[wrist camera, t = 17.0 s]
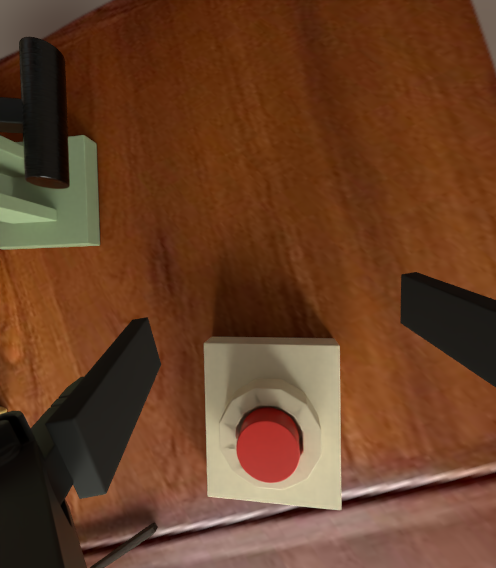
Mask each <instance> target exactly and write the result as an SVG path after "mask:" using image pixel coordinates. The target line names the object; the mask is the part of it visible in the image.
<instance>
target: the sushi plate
mask: <svg viewBox="0 0 496 568" xmlns="http://www.w3.org/2000/svg"><path fill="white" fill-rule="evenodd" d="M156 530H157V525H156V524H155V523H152V524H151V525H149V526H148V527H146V528H145V529H143V530H142V531H141V532H139V533H138V534H136V535H135V536H134V537H132V538H131V539H129V540H128V541H126V542H125V543H124V544H122V545H121V546H119V547H118V548H117V549H115V550H114V551H112V552H111V553H110V554H108V555H107V556H105V557H104V558H103V559H101V560H100V561H98V562H97V563H96V564H94V565H93V566H91V567H90V568H105V567H106V566H108V565H109V564H110V563H112V562H113V561H115V560H116V559H118V558H119V557H121V556H122V555H124V554H125V553H127V552H128V551H130V550H131V549H133V548H134V547H136V546H137V545H139V544H140V543H141V542H143V541H144V540H146V539H147V538H149V537H150V536H152V535H153V534H154V533H155V532H156Z"/></svg>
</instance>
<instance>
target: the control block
mask: <svg viewBox="0 0 496 568" xmlns="http://www.w3.org/2000/svg"><path fill="white" fill-rule="evenodd" d="M204 370H205V410H206V451H207V491H208V496H209V497H219V498H228V499H238V500H247V501H257V502H266V503H276V504H285V505H295V506H305V507H314V508H324V509H333V510H341V426H340V346H339V344H338V343H337V342H336V340H335V339H334V338H275V337H211V338H210V339H208V340H207V341H206V342H205V343H204ZM264 407H270V408H275V409H278V410H281V411H283V412H284V413H286V414H287V415H288V416H289V417H290V418H291V419H292V420H293V422H294V423H295V425H296V427H297V430H298V434H299V447H300V460H299V464H298V466H297V468H296V470H295V471H294V473H293V474H292V475H291V476H290V477H288V478H287V479H285V480H283V481H281V482H277V483H265V482H261V481H259V480H256V479H254V478H253V477H251V476H250V475H249V474H248V473H247V472H246V471H245V470H244V469H243V468H242V466H241V464H240V462H239V460H238V457H237V452H236V445H237V440H238V437H239V433H240V430H241V427H242V424H243V422H244V420H245V418H246V417H247V416H248V415H249V414H250V413H251V412H253V411H254V410H257V409H259V408H264Z"/></svg>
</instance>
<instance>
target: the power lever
mask: <svg viewBox="0 0 496 568" xmlns="http://www.w3.org/2000/svg"><path fill="white" fill-rule="evenodd" d="M19 51H20V75H21V99H18V98H6V97H0V132H10V133H23V147H24V171H25V180H26V181H27V182H29V183H31V184H33V185H36V186H40V187H45V188H51V189H66V188H68V187H69V186H70V178H69V151H68V124H67V98H66V71H65V59H64V57H63V55H62V53H61V52H60V51H59V50H58V49H57V48H56V47H54V46H53V45H51V44H50V43H48V42H46V41H44V40H41V39H38V38H35V37H24V38H22V39H21V40H20V42H19Z"/></svg>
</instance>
